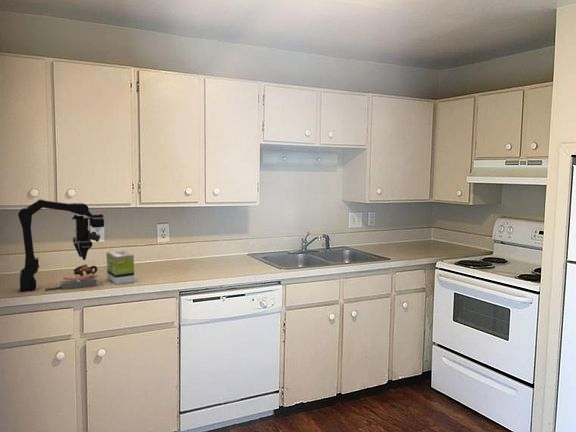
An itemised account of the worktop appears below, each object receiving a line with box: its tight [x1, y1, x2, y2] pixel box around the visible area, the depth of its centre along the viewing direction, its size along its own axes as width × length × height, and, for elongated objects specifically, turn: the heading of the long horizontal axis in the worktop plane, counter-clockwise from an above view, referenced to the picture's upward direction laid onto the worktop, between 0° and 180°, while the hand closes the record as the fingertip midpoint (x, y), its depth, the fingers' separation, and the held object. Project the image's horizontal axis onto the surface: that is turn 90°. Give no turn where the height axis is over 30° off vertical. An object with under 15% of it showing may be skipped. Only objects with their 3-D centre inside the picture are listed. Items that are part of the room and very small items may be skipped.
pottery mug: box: [73, 263, 98, 278], centre depth 255 cm, size 12×10×8 cm
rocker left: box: [62, 275, 78, 281], centre depth 233 cm, size 6×3×1 cm, turn 124°
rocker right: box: [79, 273, 94, 280], centre depth 237 cm, size 6×3×1 cm, turn 123°
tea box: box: [106, 250, 135, 285], centre depth 248 cm, size 15×10×15 cm, turn 37°
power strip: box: [44, 277, 98, 292], centre depth 233 cm, size 23×6×3 cm, turn 123°
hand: (82, 258), depth 240 cm, fingers open, 9 cm apart
